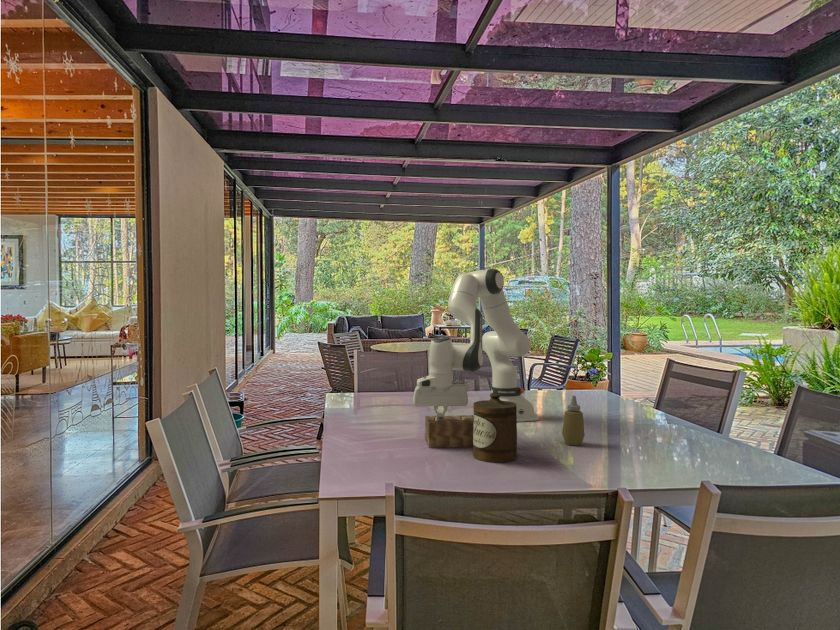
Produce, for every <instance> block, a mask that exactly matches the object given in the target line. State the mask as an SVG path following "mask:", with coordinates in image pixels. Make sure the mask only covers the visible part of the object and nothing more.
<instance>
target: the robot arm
mask: <svg viewBox="0 0 840 630" xmlns="http://www.w3.org/2000/svg"><path fill="white" fill-rule="evenodd" d="M504 284H505V280H504V276H503V273H502V272H501V271H499V269H496V268H488V269H480V270H479V269H478V270H475V271H471V272H466V273H461V274H459V275H457V276H456V277H455V278H454V280H453V285H452V288H451V289H450V293H449V298H448V302H447V309H448V311H449V313H450V315H451V316H452V317H453V318H455V319H456V320H458V321H460V322H462V323H464V324H467V325H469V326H470V333H469V334H470V335H469V336H470V337H469V339H470V341H469V343H468V344H453V341H452V338H451V337H449V336H444V335H443V336H442V335H441V336H436V337H432V339H431V341H430V345H429V353H428V361H429V363H428V364H429V371H428V375H426V376H423V377H420V378H417V380H416V386H415V388H414V391H413V397H412V400H413V402H412V403H413V405H414V406H415V407H433V410H434V411H435V416H436V418H445V416H446V413H447V411H448V407H466V406H467V405H468V403H469V397H468V392H469V384H468V382H467V381H465V380H454V376H453V375H454V374H453V373H454V372H453V371H464V372H469V373H475V372H477V371H478V370H480V368H482V366H483V364H484V353H483V351H484V352H485V353H486V355H487V356H488V359H489V361H490V362H489V363H490V366H491V374H492V375H491V377H492V381H491V382H492V383H491V384H492V385H491V389H490V394H491V393H493V392H497V393H499V394H500V398H499V399H500V400H501V401H509V402H513V403H515V404H516V406H517V414H516V415H517V423H518V422H533V421H540V415H538V414H536V413H535V409H534V405H533V404H532V403H531V402H530V401H529V399H527V398H525V396H524V395H522V394H524V393H525V389H524V388H522V387H520V386H518V368H517V367H516V366H515V365H514V364H513V362H512V361H511V357H513V358H518V357H524V356H526V355H528V353H529V352H530V350H531V345H532V344H531V340H530V337H529V336H528V335H527V334H525V333H524V332H523V331H522V330H521V329H520V328H519V327H518V325H517V323H516V322H515V320H514V319H513V317H512V315H511V311H510V309H509V305H508V302H507V298H506V295H505V292H504V290H503V288H504ZM478 298H479V300H480V305H481V308H482V309H481V310H482V312H483V316H484V319H485V323H486V324H487V325H488V327H490V328H492V329H493V330H491V331H487V332H485V333H484V334H483V316H482V313H481V310H480V309H478V307H477V300H478ZM439 407H443V411H442V412H439V411H438V408H439Z"/></svg>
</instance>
